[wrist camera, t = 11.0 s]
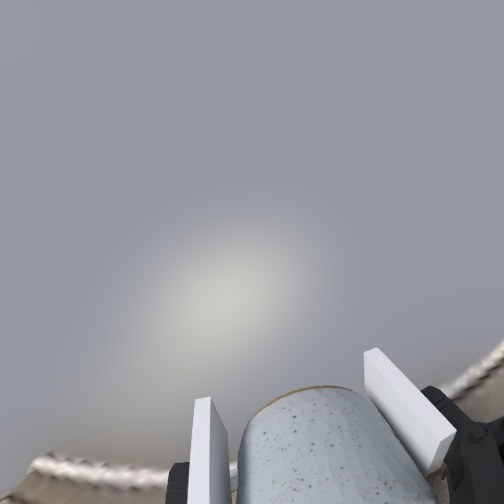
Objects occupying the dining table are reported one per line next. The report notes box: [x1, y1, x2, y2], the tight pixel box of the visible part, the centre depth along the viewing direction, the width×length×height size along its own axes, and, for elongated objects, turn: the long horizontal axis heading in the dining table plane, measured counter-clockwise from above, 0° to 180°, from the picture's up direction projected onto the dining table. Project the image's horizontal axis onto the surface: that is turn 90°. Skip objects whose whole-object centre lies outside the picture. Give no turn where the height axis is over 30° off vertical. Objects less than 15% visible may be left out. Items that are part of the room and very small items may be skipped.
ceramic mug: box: [230, 386, 438, 504], centre depth 8 cm, size 11×8×8 cm
